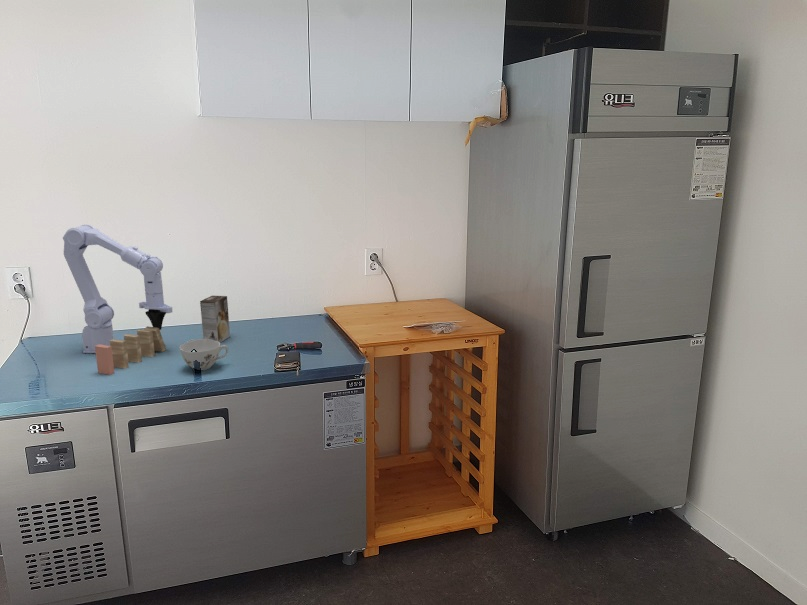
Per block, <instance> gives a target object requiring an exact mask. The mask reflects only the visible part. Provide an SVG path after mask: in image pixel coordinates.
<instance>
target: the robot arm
mask: <svg viewBox="0 0 807 605" xmlns="http://www.w3.org/2000/svg"><path fill="white" fill-rule="evenodd" d="M62 240H63V255H64V259H65V261H66V263H67V265H68V268H69V270H70V273H71V275H72V277H73V280H74V281H75V284H76V285H77V289H78V291H79V292H80V294H81V297H82V299H83V301H84V304H83V313H84V322H85V323H86V326H84V327H83V329H82V332H81V337H82V338H81V339H82V346H83V351H82V353H83V354H96V352H95V346H96V345H99V344H100V345H106V346H110V340H113V339H115V338H114V337H115V336H114V331H113V322H112V319H113V318H114V317H115V310H114V308H113V307H112V306H111V305H109V303H108V301H107V299H105V298H103V297H102V296H101V294H100V291H99V289H98V287H97V284H96V283H95V279H94V278H93V275H92V273H91V271H90V269H89V265H88V263H87V262H86V259H85V257H84V254H85V251H86V250H87V247H88V246H99V247H102V248H103V249H106V250H109V251H110V252H112V253H114V254H117V255H119V256H120V259H121V262H124V263H126V264H128V265H129V266H131V267H133V268H134V269H135V268H136V269H137V270H139V271H140V274H141V275H143V281H144V283H143V284H144V292H145V293H144V294H145V301H141V302H138V306H139V307H138V308H139V309H144V310H147V311H144V312H145V315H146V316H147V318H148V319H149V321H150V323H151V325H152V326H151V327H156V328H159V330H160V331H161V330H162V327H163V321H164V319H165V316H166V315H167V314H171V313H173V307H172V306H170V305H168V304H166V303H165V301H164V299H165V298H164V290H163V289H164V287H163V279H162V271H163V267H164V264H163V262H162V260H161V259H160V258H159V257H158V256H151V254H149V253H148V254H146V253H145V252H143V251H141V250H139V247H137V246H131V245H129V246H124V245H123V244H121V243H120V242H117V240H115V239H113V238H111V237H109V235H106V234H105V233H103V232H102V231H100V230H99V229H98V228H95V227H93V225H92V226H91V224H82V225H80V226H76V227H70V228H69V229H66V231H65V233H64V235H63V236H62Z"/></svg>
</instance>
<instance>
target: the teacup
mask: <svg viewBox="0 0 807 605" xmlns="http://www.w3.org/2000/svg"><path fill="white" fill-rule="evenodd" d="M228 347H229V346H228V345H227V344H226V345H225V344H222V345H221V343H219V342H217V341H215V340H212V339H203V338H198V339H192V340H189V341H186V342H184V343H182V344H180V346H179V350H180V353H181V356H182V358H183V360H184V362H185V363H186V364H187V365H188V366H189V367H190V368H192V369H193V361H195V360H197V361H198V362H200V368H201V370H203V371H206V370H209V369H211V367H212V366H214V364H215V363H216V362H217V361H218V360H221V359H223V358H225V357H227V354H229V348H228ZM193 349H195V350H196V351H197V352H191V351H192V350H193ZM223 349H225V353H224V354H222V355H220V353H221V351H222V350H223ZM219 355H220V356H219Z"/></svg>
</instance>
